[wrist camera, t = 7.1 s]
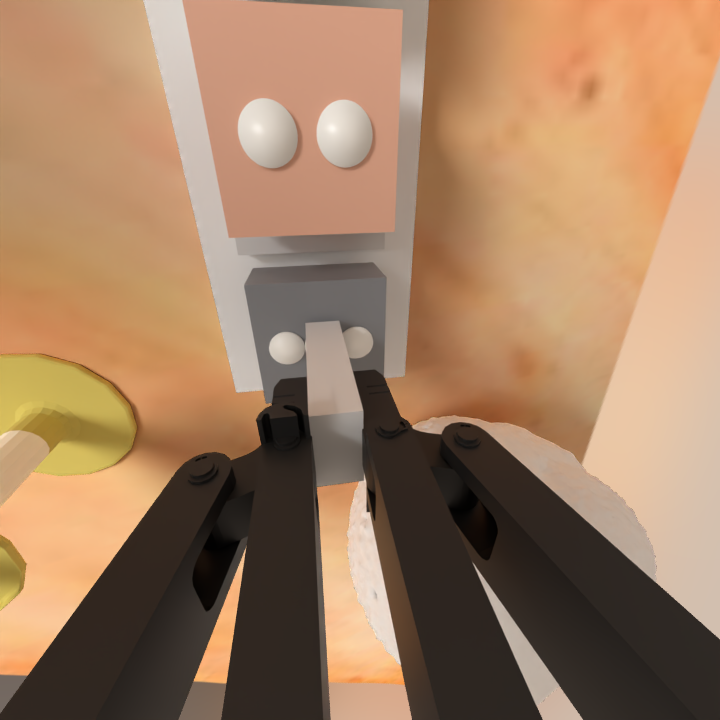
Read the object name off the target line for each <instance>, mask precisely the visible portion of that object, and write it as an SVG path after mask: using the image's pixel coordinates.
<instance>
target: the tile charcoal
mask: <svg viewBox="0 0 720 720" xmlns="http://www.w3.org/2000/svg"><path fill="white" fill-rule="evenodd" d="M386 284H387V277H386V276H385V275H384V274H383V273H382V272H381V270H380V269H379V268H378V267H377V266H376V265H375V264H374V262H367V263H346V264H325V265H305V266H284V267H264V268H253V269H252V271H251V273H250V275H249V276H248V278H247V280H246V282H245V284H244V289H245V294H246V299H247V305H248V310H249V315H250V321H251V326H252V331H253V337H254V342H255V347H256V353H257V358H258V363H259V369H260V374H261V379H262V385H263V390H264V396H265V401H266V404H267V403H272V399H273V391H274V387H275V386H276V384H277V383H278V382H279V381H280V379H286V378H297V377H307V360H306V328H305V323H312V322H326V321H339V322H340V326H341V330H342V334H343V337H344V341H345V345H346V348H347V352H348V356H349V359H350V363H351V367H352V371H363V370H374V369H375V370H377V371H378V372H379V373H380V374H382V375H383V376H384V355H385V319H386Z"/></svg>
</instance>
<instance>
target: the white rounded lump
mask: <svg viewBox="0 0 720 720" xmlns="http://www.w3.org/2000/svg"><path fill="white" fill-rule="evenodd" d="M457 422H465V423H471V424H473V425H476V426H479V427H480V428H482V429H483V430H485V431H486V432H487V433H489V434H490V435H491V436H492V437H493V438H494V439H495V440H496V441H498V442H499V443H500V444H501V445H502V446H503V447H504V448H505V449H506V450H508V451H509V452H510V453H511V454H512V455H513V456H514V457H515V458H517V459H518V460H519V461H520V462H521V463H522V464H523V465H524V466H526V467H527V468H528V469H529V470H530V471H531V472H532V473H533V474H535V475H536V476H537V477H538V478H539V479H540V480H541V481H542V482H544V483H545V484H546V485H547V486H548V487H549V488H550V489H551V490H553V491H554V492H555V493H556V494H557V495H558V496H559V497H560V498H561V499H563V500H564V501H565V502H566V503H567V504H568V505H569V506H570V507H572V508H573V509H574V510H575V511H576V512H577V513H578V514H579V515H581V516H582V517H583V518H584V519H585V520H586V521H587V522H588V523H590V524H591V525H592V526H593V527H594V528H595V529H596V530H597V531H599V532H600V533H601V534H602V535H603V536H604V537H605V538H606V539H608V540H609V541H610V542H611V543H612V544H613V545H614V546H615V547H616V548H618V549H619V550H620V551H621V552H622V553H623V554H624V555H625V556H627V557H628V558H629V559H630V560H631V561H632V562H633V563H634V564H636V565H637V566H638V567H639V568H640V569H641V570H642V571H643V572H645V573H646V574H647V575H648V576H649V577H650V578H651V579H652V580H654V581H655V582H656V575H655V573H656V567H657V566H656V564H655V555H654V551H653V547H652V545H651V543H650V541H649V538H648V537H647V534H646V531H645V529H644V528H643V527H642V525H641V524H640V523H639V522H638V520H637V517H636V515H635V513H634V511H633V509H631V508H630V507H628V506H627V505H626V502H625V500H624V499H623V498H621V497H620V496H618V494H617V493H616V492H613V490H612V489H610V487H609V486H607V485H605V484H604V483H602V482H601V481H599V480H598V479H597V478H596V477H594V476H592V475H590V474H589V473H587V472H586V470H585V469H584V468H583V466H582V465H581V464H580V462H579V461H578V460H577V459H576V457H575V456H574V454H573V453H572V452H569V451H567V450H565V449H563V448H561V447H559V446H558V445H556V444H554V443H553V442H551V441H548V440H546V439H544V438H541V437H539V436H537V435H534V434H533V433H531V432H529V431H528V430H526V429H525V428H522V427H519V426H516V425H512V424H509V423H501V422H495V423H490V422H487V421H483V420H481V419H478V418H476V419H474V418H470V417H458V416H456V415H453V416H442V417H440V418H436V417H431V418H430V419H429V420H426V421H421V422H418V423H417V424H416V425H412V428H413V429H415V430H418V431H421V432H426V433H434V434H442V431H443V430H444V428H445V427H446V426H447V425H449V424H451V423H457ZM349 517H350V518H349V521H350V523H349V524H350V525H349V528H348V532H347V536H348V539H349V543H348V546H347V551H348V559H349V566H350V569H351V571H350V575H351V577H352V579H353V584H354V589H355V590H356V592H357V594H358V602H359V603H360V604H361V605H362V606H363V608H364V611H365V615H366V618H367V619H368V623H369V625H370V626H371V627H372V629H373V630H374V632H375V635H376V638H377V639H378V640H380V641H382V643H383V645H384V648H385V650H386V651H387V652H388V653H389V654H390V655H392V656H393V657H394V658H395V660H396V662H397V663H398V664H399V665H401V662H400V658H399V653H398V648H397V643H396V638H395V633H394V628H393V623H392V618H391V613H390V609H389V604H388V599H387V594H386V589H385V584H384V579H383V574H382V569H381V565H380V560H379V555H378V550H377V545H376V540H375V535H374V530H373V525H372V521H371V516H370V512H366V479H365V475H364V481H359V484H358V487H357V489H356V490H355V491H354V498H353V501H352V505H351V508H350V515H349ZM473 564H474V563H473ZM474 567H475V569H476V571H477V573H478V576H479V578H480V580H481V582H482V585H483V587H484V589H485V591H486V594H487V596H488V598H489V600H490V603H491V605H492V607H493V609H494V612H495V614H496V616H497V618H498V621H499V623H500V625H501V627H502V630H503V632H504V634H505V636H506V639H507V641H508V643H509V645H510V648H511V650H512V652H513V654H514V656H515V659H516V661H517V663H518V665H519V668H520V670H521V672H522V674H523V677H524V679H525V681H526V683H527V686H528V688H529V690H530V692H531V695H532V697H533V699H534V701H535V704H536V706H537V705H539V704H540V703H541V702H543V701H544V700H545V698H546V697H548V696H549V695H550V694H551V693H552V692H554V691H555V690H556V689H557V688H558V687H559V684H558V683H557V682H556V680H555V679H554V677H553V676H552V674H551V673H550V672H549V670H548V669H547V667H546V666H545V664H544V663H543V662H542V660H541V659H540V657H539V656H538V654H537V653H536V652H535V650H534V649H533V647H532V646H531V645H530V643H529V642H528V640H527V639H526V637H525V636H524V635H523V633H522V632H521V630H520V629H519V627H518V626H517V625H516V623H515V622H514V620H513V619H512V617H511V616H510V615H509V613H508V612H507V610H506V609H505V608H504V606H503V605H502V603H501V602H500V600H499V599H498V598H497V596H496V595H495V593H494V592H493V590H492V589H491V588H490V586H489V585H488V583H487V582H486V580H485V579H484V578H483V576H482V575H481V573H480V572H479V570H478V569H477V568H476V566H475V565H474Z"/></svg>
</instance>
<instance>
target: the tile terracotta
mask: <svg viewBox="0 0 720 720" xmlns="http://www.w3.org/2000/svg"><path fill="white" fill-rule="evenodd" d="M182 1H183V7H184V12H185V17H186V22H187V27H188V32H189V37H190V42H191V47H192V53H193V58H194V63H195V68H196V73H197V78H198V83H199V88H200V93H201V98H202V104H203V109H204V114H205V119H206V124H207V129H208V134H209V139H210V144H211V149H212V155H213V160H214V165H215V170H216V175H217V180H218V185H219V190H220V195H221V200H222V206H223V211H224V216H225V221H226V226H227V231H228V236H229V238H242V237H269V236H297V235H324V234H352V233H379V232H395V211H396V184H397V158H398V131H399V104H400V78H401V51H402V24H403V10H400V9H383V8H365V7H348V6H330V5H312V4H295V3H277V2H260V1H242V0H182Z"/></svg>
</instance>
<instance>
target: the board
mask: <svg viewBox="0 0 720 720" xmlns="http://www.w3.org/2000/svg"><path fill="white" fill-rule="evenodd" d="M143 1H144V5H145V9H146V14H147V18H148V22H149V26H150V31H151V35H152V39H153V43H154V47H155V52H156V56H157V60H158V64H159V69H160V73H161V77H162V81H163V85H164V90H165V94H166V98H167V102H168V106H169V111H170V115H171V119H172V123H173V128H174V132H175V136H176V140H177V144H178V149H179V153H180V157H181V161H182V166H183V170H184V174H185V178H186V182H187V187H188V191H189V195H190V199H191V203H192V208H193V212H194V216H195V220H196V225H197V229H198V233H199V237H200V241H201V246H202V250H203V254H204V258H205V263H206V267H207V271H208V275H209V279H210V284H211V288H212V292H213V296H214V300H215V305H216V309H217V313H218V317H219V322H220V326H221V330H222V334H223V338H224V343H225V347H226V351H227V355H228V360H229V364H230V368H231V372H232V376H233V381H234V385H235V389H236V393H239V392H250V391H260V390H263V385H262V379H261V374H260V369H259V363H258V358H257V353H256V347H255V342H254V337H253V331H252V326H251V321H250V315H249V310H248V305H247V299H246V294H245V289H244V284H245V282H246V280H247V278H248V276H249V275H250V273H251V271H252V269H253V268H264V267H284V266H305V265H325V264H346V263H367V262H374V264H375V265H376V266H377V267H378V268H379V269H380V270H381V272H382V273H383V274H384V275H385V276H386V277H387V284H386V319H385V355H384V378H394V377H404V376H405V365H406V350H407V334H408V319H409V303H410V288H411V272H412V257H413V241H414V226H415V210H416V195H417V179H418V164H419V148H420V133H421V117H422V102H423V86H424V71H425V55H426V40H427V24H428V9H429V0H242V1H260V2H277V3H295V4H312V5H330V6H348V7H365V8H383V9H400V10H403V24H402V51H401V78H400V104H399V131H398V158H397V184H396V211H395V232H379V233H352V234H324V235H297V236H269V237H242V238H229V236H228V231H227V226H226V221H225V216H224V211H223V206H222V200H221V195H220V190H219V185H218V180H217V175H216V170H215V165H214V160H213V155H212V149H211V144H210V139H209V134H208V129H207V124H206V119H205V114H204V109H203V104H202V98H201V93H200V88H199V83H198V78H197V73H196V68H195V63H194V58H193V53H192V47H191V42H190V37H189V32H188V27H187V22H186V17H185V12H184V7H183V1H182V0H143Z"/></svg>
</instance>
